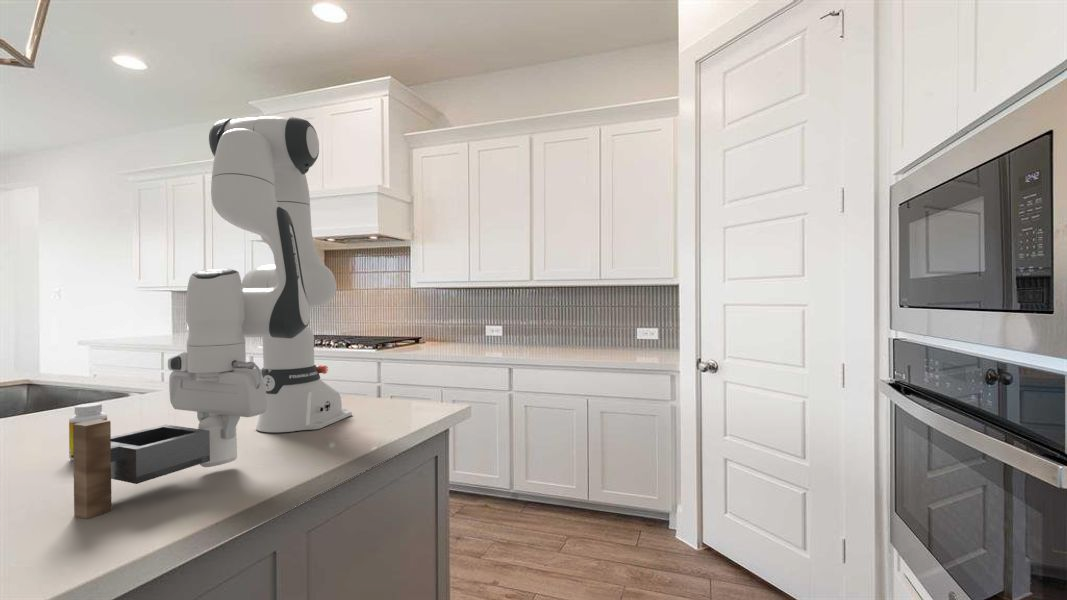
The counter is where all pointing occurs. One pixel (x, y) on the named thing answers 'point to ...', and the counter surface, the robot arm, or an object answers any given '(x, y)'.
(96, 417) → the supplement bottle
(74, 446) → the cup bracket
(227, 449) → the eye dropper bottle
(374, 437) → the counter surface
